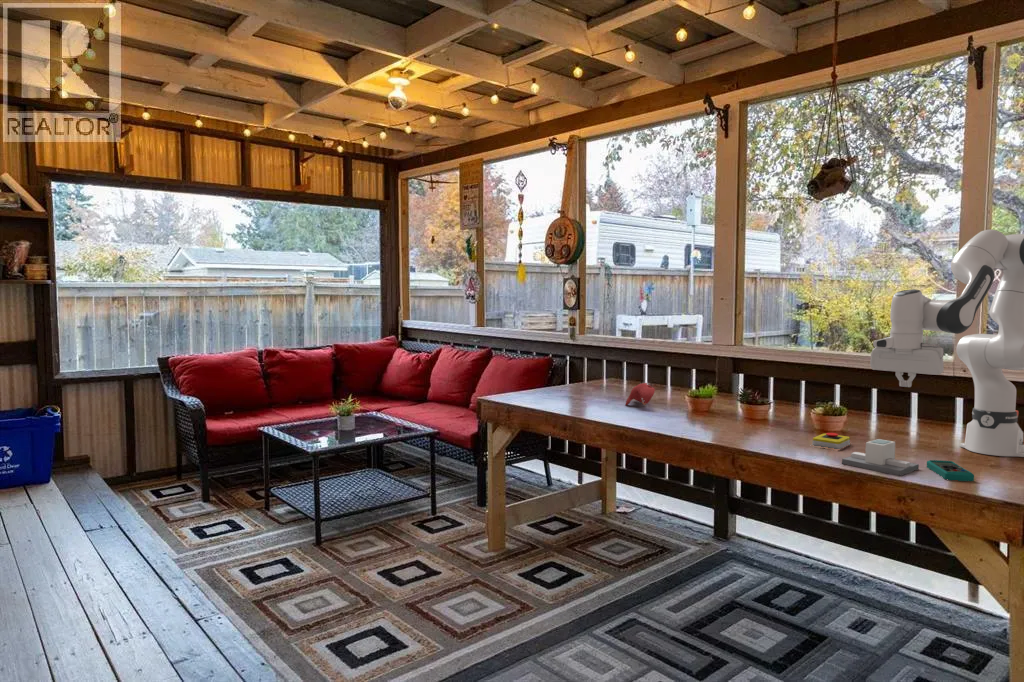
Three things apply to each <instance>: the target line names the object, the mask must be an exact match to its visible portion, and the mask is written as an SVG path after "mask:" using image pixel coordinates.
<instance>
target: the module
mask: <svg viewBox="0 0 1024 682" xmlns="http://www.w3.org/2000/svg"><path fill="white" fill-rule="evenodd" d="M864 451H865V462H868V463H873V464H878V465H884V464H885V460H886V459H889V458H891V459H896V441H892V440H886V439H881V438H878V439H874V440H869V441H867V442H865V450H864Z"/></svg>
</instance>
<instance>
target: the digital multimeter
mask: <svg viewBox="0 0 1024 682" xmlns="http://www.w3.org/2000/svg"><path fill="white" fill-rule="evenodd" d="M926 468H927V469H929V470H930V469H931V470H930V471H932V472H934V473H935V472H936V474H937V475H938V474H939V475H938V476H939V477H941V476H942V477H943V478H942V477H941V478H942V479H944V480H945V479H948V480H947V481H952V480H958V481H957V482H974V481H975V474H974V473H973V472H971V471H969V470H968V469H966V468H964V467H962V466H961V465H958V464H957V463H956V462H954V461H952V460H942V459H941V460H939V459H938V460H936V459H933V460H931V459H930V460H928V461H926Z"/></svg>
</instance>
